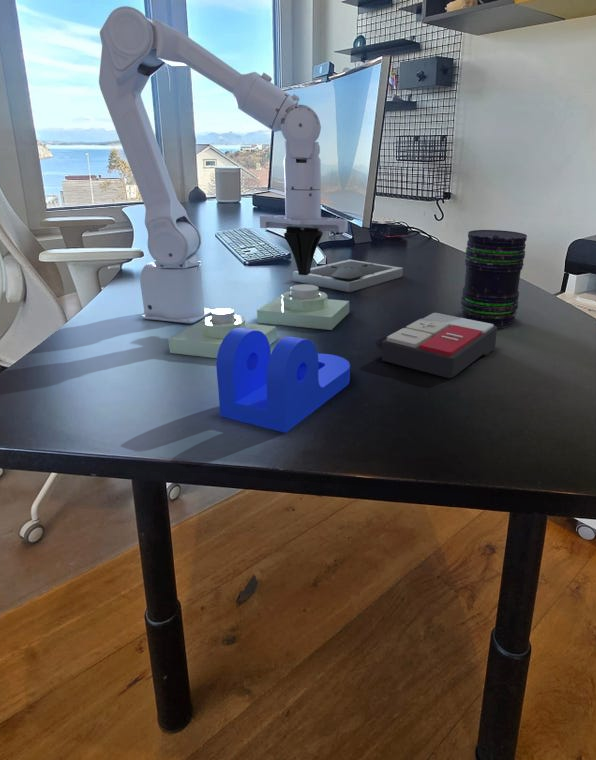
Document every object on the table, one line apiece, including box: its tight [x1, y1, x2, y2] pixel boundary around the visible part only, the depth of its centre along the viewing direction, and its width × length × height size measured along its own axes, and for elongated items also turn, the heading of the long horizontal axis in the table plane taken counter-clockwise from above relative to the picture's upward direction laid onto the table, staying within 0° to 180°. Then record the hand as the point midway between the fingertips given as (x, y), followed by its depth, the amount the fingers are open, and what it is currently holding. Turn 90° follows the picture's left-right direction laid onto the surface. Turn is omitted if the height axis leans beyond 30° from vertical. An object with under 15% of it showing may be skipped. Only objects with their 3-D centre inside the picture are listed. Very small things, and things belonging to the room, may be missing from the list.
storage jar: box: [459, 229, 528, 329], centre depth 94 cm, size 10×10×15 cm
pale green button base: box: [167, 314, 277, 359], centre depth 80 cm, size 12×10×4 cm
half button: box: [210, 307, 235, 324], centre depth 79 cm, size 3×3×2 cm
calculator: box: [381, 312, 498, 379], centre depth 79 cm, size 11×4×15 cm
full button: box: [289, 283, 320, 299], centre depth 94 cm, size 5×5×2 cm
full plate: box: [256, 290, 350, 331], centre depth 95 cm, size 13×11×4 cm
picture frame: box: [292, 259, 404, 293], centre depth 125 cm, size 16×3×21 cm
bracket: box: [215, 328, 351, 434], centre depth 64 cm, size 18×8×9 cm, turn 155°
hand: (304, 274), depth 92 cm, fingers closed
